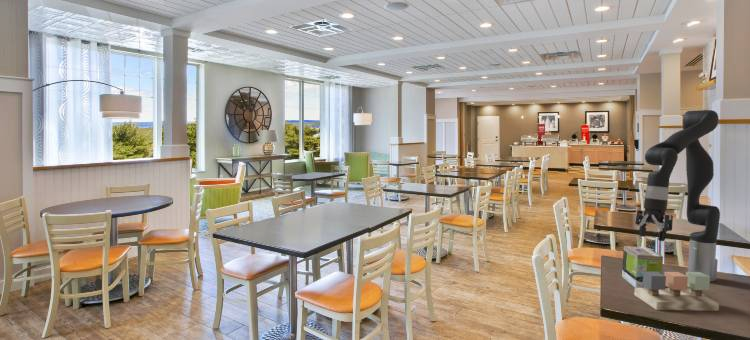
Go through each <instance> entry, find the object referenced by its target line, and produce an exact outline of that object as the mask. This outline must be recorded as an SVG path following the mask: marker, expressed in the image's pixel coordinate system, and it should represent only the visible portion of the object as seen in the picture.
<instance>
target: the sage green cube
mask: <svg viewBox="0 0 750 340" xmlns="http://www.w3.org/2000/svg"><path fill="white" fill-rule="evenodd" d="M685 275H686V276H688V284H687V288H692V289H694V290H702V291H710V283H711V282H710V277H709V276H707V275H705V274H703V273H701V272H688V271H686V272H685Z"/></svg>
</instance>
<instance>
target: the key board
mask: <svg viewBox="0 0 750 340" xmlns="http://www.w3.org/2000/svg"><path fill="white" fill-rule="evenodd" d="M634 296H635V297H637V298H638V299H640V300H641V301H643V302H644V303H646V304H647V305H648V306H650V307H652V308H653V309H655V310H657V311H660V310H661V311H707V312H708V311H714V312H715V311H717V312H718V311H719V308H720V303H719V301H717V300H716V299H712V298H711V297H708V296H707V295H705V294H703V290H694V289H692V288H690V287H687V290H672V289H671V288H669V287H665V290H651V289H649V288H635V287H634Z"/></svg>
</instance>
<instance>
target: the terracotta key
mask: <svg viewBox="0 0 750 340" xmlns="http://www.w3.org/2000/svg"><path fill="white" fill-rule="evenodd" d="M663 275H664V276H666V285H665V287H666V288H671V289H672V290H687V288H688V286H687V284H688V276H686V274H683V273H682V272H679V271H664V274H663Z"/></svg>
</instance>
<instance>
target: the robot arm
mask: <svg viewBox="0 0 750 340" xmlns="http://www.w3.org/2000/svg"><path fill="white" fill-rule="evenodd" d="M718 124H719V115H718V113H717V112H716V111H715V110H712V109H701V110H700V109H698V110H687V111H686V112H685V113H684V114H683V116H682V129H681V130H678V131H676V132H673V134H671V135H670V136H668V138H666V139H665V140H664V141H662V142H661V141H660V142H659V143H657V144H655V145H653V146H651V147H649V148H648V149H647V150H646V151H645V155H644V160H645V162H646V163H647V164H649V165H651V166H661V167H660V168H659V169H657V170H653V171H650V172H649V173H648V175H647V182H646V187H645V193H644V202H643V208H644V210H640V209H638V210H637V211H636V217H635V221H634V222H635V225H637V226H638V227H639V229H638V230H639V231H638V235H639V237H644V238H645V237H646V233H647V226H648V225H649V224H655V225H656V227H657V228H658V230H659V231H658V236H657V237H658V241H660V242H665V240H666V237H667V232H671V231H672V230H673V222H674V221H673V219H674V216H673V215H672V214H666V212H667V210H668V209H667V207H668V200H669V185H670V178H671V175H672V173H673V171H674V168H675V166H676V164H677V162H678V156H679V154H680V153H681V152H683V151H684V150H685V155H686V156H685V157H686V158H685V159H686V161H685V163H686V164H685V165H686V166H685V168H686V170H685V171H686V181H687V182H686V183H687V184H686V185H687V196H686V197H687V201H686V220H687V221H688V223H690V224H692V225H696V226H703V227H705V228H704V230H701V231H700V230H699V231H694V232H691V233H690V235H689V249H688V264H687V272H701V273H703V274H705V275H707V276H709V277H710V283H711V282H714V281H715V282H716V281H717V276H718V274H717V273H718V263H719V262H718V259H717V258H716V256H717V255H716V254H717V253H716V252H717V239H718V234H719V227H720V226H719V225H720V218H721V211H720V208H719V207H718V206H715V205H708V204H700V197H701V194H702V193H703V191H704V190H705V189H706V187H707V186H708V185H709V184H710V183H711V182H712V180H713V178H714V176H715V175H714V174H715V173H714V161H713V159H712V157H711V155H710V154H709V153H708V152H707V150H706V149H705V148H704V147H703V145H702V144H701V143H700V140H699V139H701V138H702V137H704V136H705V135H707V134H710V133H711V132H713V131H714V130H715V129H716V128H717V127H718Z"/></svg>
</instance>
